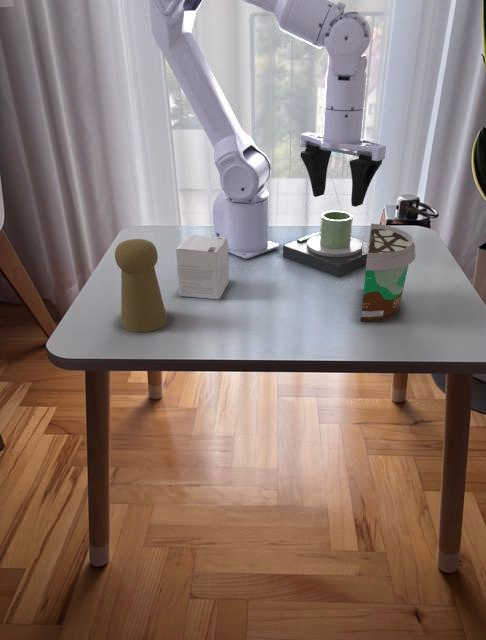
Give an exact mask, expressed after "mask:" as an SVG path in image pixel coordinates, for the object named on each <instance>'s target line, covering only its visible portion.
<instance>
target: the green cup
mask: <svg viewBox="0 0 486 640" xmlns="http://www.w3.org/2000/svg"><path fill="white" fill-rule="evenodd" d="M353 218H354V217H353V215H352V214H351V213H349V212H346V211H341V210H329V211H325V212H323V213H322V214H321V215H320V228H319V229H320V231H319V232H320V244H321V245H322V246H324V247H327V248H333V249H340V248H346V247H348V246H349V245H350V241H351V237H352V231H353V230H352V229H353Z"/></svg>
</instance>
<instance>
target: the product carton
mask: <svg viewBox="0 0 486 640" xmlns="http://www.w3.org/2000/svg"><path fill="white" fill-rule="evenodd" d="M175 253H176V267H177V281H178V293H179V296H181V297H186V298H187V297H188V298H196V299H197V298H198V299H209V300H221V297H222V295H223V294H224V292H225V290H226V288H227V287H228V285H229V283H230V265H229V252H228V238H227V237H215V236H214V235H213V236H212V235H201V234H194V233H193V234H192V233H191V234H188V235H187V236H186V237H185V238H184V239H183V240H182V242H180V244H179V245H178V246H177V247H176V248H175Z"/></svg>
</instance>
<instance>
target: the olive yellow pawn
mask: <svg viewBox="0 0 486 640" xmlns="http://www.w3.org/2000/svg"><path fill="white" fill-rule="evenodd" d="M158 258H159V257H158V250H157V247H156V245H155V244H154V243H153V242H152V241H150V240H148V239H143V238H131V239H127V240H123V241H122V242H120V243H119V244H117V246H116V248H115V250H114V260H115V263H116V265H117V267H118V268H119V269H120V270H121V277H120V279H121V286H120V287H121V288H120V291H121V292H120V293H121V294H120V295H121V296H120V298H121V300H120V301H121V302H120V305H121V307H120V308H121V310H120V314H121V315H120V319H121V320H120V321H121V322H120V324H121V327H122V328H123V329H124V330H126V331H128V332H132V333H149V332H153V331H157V330H159V329H161V328H163V327H164V326H165V325H167V322H168V317H167V312H166V309H165V305H164V300H163V296H162V292H161V288H160V284H159V280H158V276H157V272H156V268H155V266H156V265H157V263H158Z"/></svg>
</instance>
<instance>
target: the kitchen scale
mask: <svg viewBox="0 0 486 640" xmlns="http://www.w3.org/2000/svg"><path fill="white" fill-rule="evenodd" d="M368 249H369V242H367V241H364V240H361V239H358V238H356V237H354V236H351V241H350V245H349V246H348V247H346V248H340V249H333V248H327V247H324V246H322V245H321V244H320V231H319V232H314V233H311V234H308V235H306V236H301V237H299V238H296V240H294V241H291V242H288V243H286V244H283V245H282V257H283V258H286V259H288V260H291V261H294V262H296V263H300V264H302V265H304V266H307V267H310V268H313V269H315V270H318V271H320V272H323V273H326V274H327V275H331V276H333V277H337V278H341V277H343V276H346V275H348V274H350V273H352V272H354V271H356V270H358V269H361V268H363V267H366V262H367V253H368Z"/></svg>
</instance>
